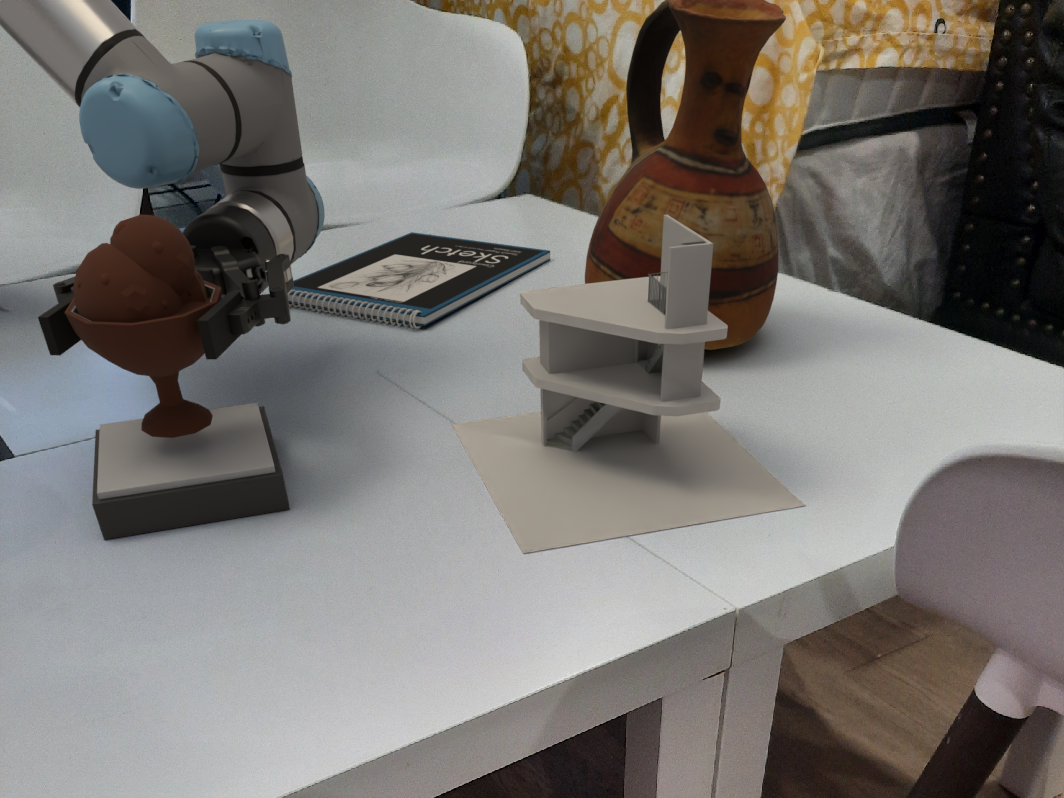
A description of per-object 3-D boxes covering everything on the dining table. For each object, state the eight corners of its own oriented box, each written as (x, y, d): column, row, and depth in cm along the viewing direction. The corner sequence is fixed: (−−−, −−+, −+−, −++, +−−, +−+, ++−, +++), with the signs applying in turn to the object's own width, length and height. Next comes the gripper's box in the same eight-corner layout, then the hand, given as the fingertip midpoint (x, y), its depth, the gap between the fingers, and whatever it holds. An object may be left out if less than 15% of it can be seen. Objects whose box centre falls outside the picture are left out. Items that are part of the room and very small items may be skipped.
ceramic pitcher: (683, 386, 97) (710, 6, 77) (544, 334, 108) (538, -7, 89) (809, 336, 106) (861, -13, 87) (669, 293, 118) (688, -23, 99)
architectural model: (684, 391, 96) (700, 181, 84) (805, 505, 78) (846, 259, 66) (451, 424, 91) (433, 206, 80) (523, 553, 73) (514, 297, 62)
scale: (106, 462, 86) (93, 422, 84) (270, 438, 90) (262, 399, 87) (104, 540, 76) (89, 497, 74) (290, 509, 79) (281, 467, 77)
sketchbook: (550, 261, 130) (550, 244, 128) (420, 334, 110) (418, 314, 108) (412, 241, 138) (410, 225, 137) (267, 305, 118) (264, 287, 116)
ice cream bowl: (201, 385, 85) (153, 189, 76) (273, 422, 79) (232, 215, 69) (81, 423, 80) (14, 218, 70) (150, 466, 73) (86, 248, 64)
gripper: (372, 297, 89) (296, 394, 72) (121, 293, 92) (-8, 385, 75) (361, 204, 84) (276, 285, 68) (96, 202, 87) (-48, 280, 70)
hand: (127, 338), depth 71 cm, fingers closed on ice cream bowl, 11 cm apart
